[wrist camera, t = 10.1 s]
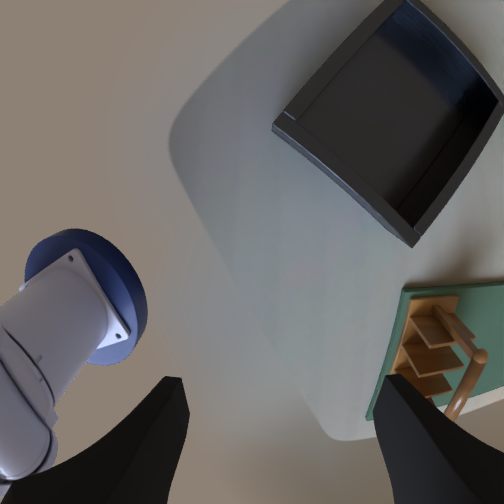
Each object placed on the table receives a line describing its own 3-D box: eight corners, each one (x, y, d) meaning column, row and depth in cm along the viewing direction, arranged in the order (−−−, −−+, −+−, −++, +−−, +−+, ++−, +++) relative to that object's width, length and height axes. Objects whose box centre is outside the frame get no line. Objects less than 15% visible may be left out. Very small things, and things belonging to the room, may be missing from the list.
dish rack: (429, 373, 21) (462, 433, 14) (386, 380, 21) (413, 448, 14) (456, 294, 18) (511, 348, 11) (409, 297, 18) (460, 361, 11)
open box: (387, 230, 18) (412, 248, 14) (270, 130, 16) (271, 124, 13) (476, 106, 14) (509, 103, 11) (379, 8, 13) (400, -16, 9)
